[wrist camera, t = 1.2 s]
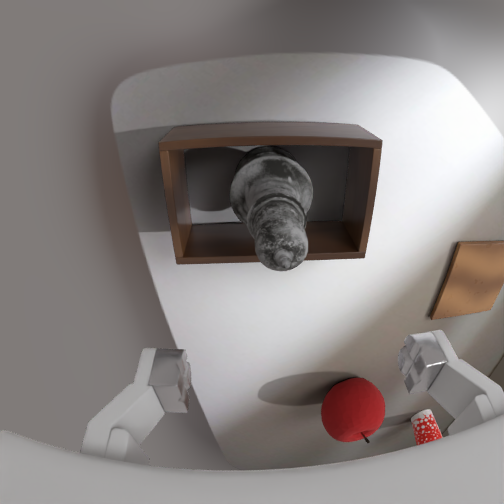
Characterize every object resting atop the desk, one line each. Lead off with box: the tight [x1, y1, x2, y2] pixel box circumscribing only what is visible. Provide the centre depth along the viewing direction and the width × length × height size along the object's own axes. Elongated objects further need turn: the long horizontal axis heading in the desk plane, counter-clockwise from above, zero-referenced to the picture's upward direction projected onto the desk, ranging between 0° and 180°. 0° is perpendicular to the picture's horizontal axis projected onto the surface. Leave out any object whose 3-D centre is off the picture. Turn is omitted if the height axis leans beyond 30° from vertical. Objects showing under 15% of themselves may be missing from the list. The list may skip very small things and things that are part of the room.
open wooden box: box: [158, 122, 382, 264], centre depth 23 cm, size 9×14×5 cm, turn 91°
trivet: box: [430, 241, 504, 320], centre depth 32 cm, size 11×11×1 cm
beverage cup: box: [411, 409, 443, 445], centre depth 46 cm, size 6×6×14 cm
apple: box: [321, 378, 385, 443], centre depth 38 cm, size 9×9×10 cm
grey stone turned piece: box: [230, 146, 313, 271], centre depth 20 cm, size 6×6×12 cm
